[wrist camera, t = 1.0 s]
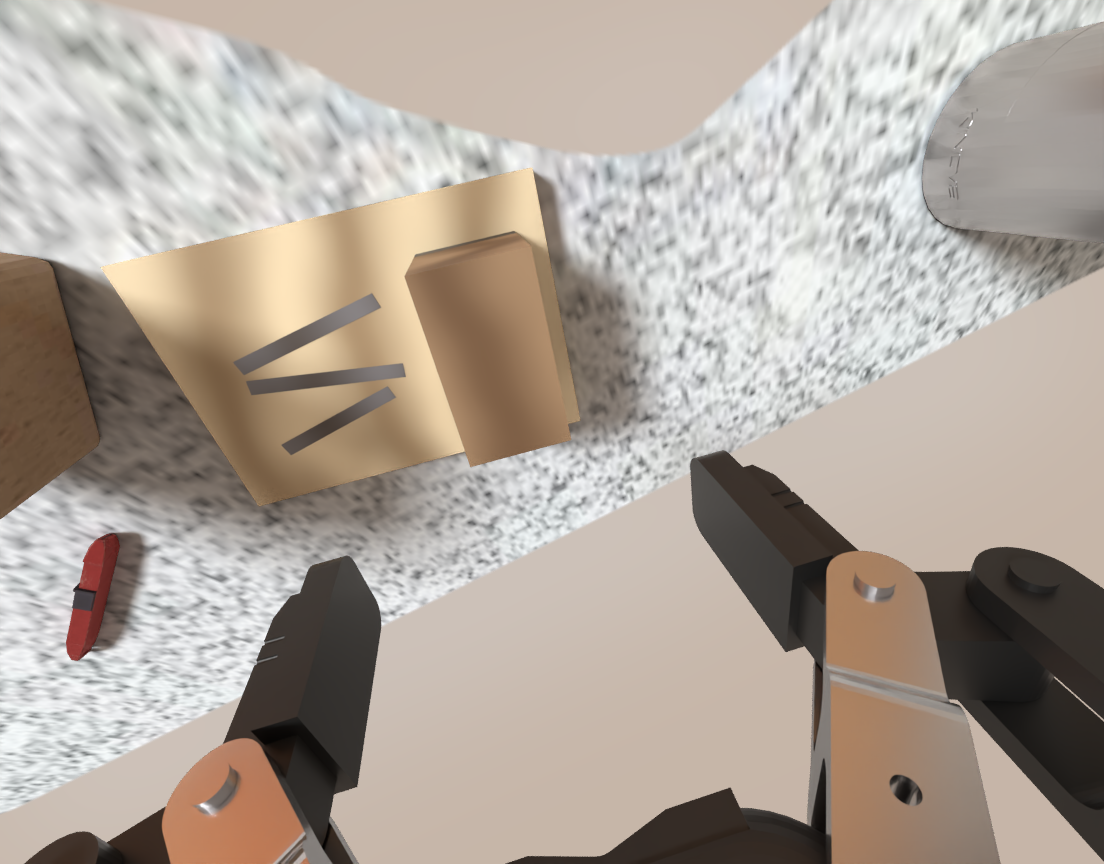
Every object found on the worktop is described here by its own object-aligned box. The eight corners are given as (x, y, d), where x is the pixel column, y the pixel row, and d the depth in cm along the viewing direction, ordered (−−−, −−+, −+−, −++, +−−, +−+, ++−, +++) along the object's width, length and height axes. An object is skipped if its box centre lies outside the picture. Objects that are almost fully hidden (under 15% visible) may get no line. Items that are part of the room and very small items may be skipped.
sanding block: (513, 230, 23) (531, 246, 18) (549, 391, 28) (571, 440, 23) (415, 254, 23) (404, 276, 18) (467, 412, 28) (470, 466, 22)
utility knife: (105, 520, 28) (82, 542, 27) (126, 525, 29) (105, 548, 27) (77, 646, 32) (55, 673, 31) (96, 650, 33) (76, 676, 31)
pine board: (528, 168, 24) (532, 167, 22) (575, 410, 30) (580, 420, 29) (121, 261, 22) (100, 267, 21) (267, 491, 29) (258, 506, 28)
